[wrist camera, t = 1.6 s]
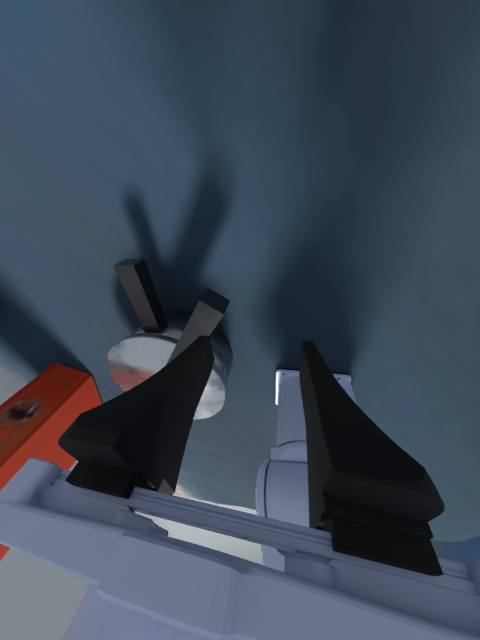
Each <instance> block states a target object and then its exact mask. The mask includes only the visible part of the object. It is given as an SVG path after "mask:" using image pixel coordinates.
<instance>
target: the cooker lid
mask: <svg viewBox="0 0 480 640" xmlns="http://www.w3.org/2000/svg"><path fill="white" fill-rule="evenodd" d="M229 302H230V300H228V299H226V298H224V297H223V296H221V295H219V294H218V293H216V292H214V291H213V290H211V289H209V288H208V289H207V290H206V292H205V293H204V295H203V296H202V297H201V299H200V300H199V302H198V304H197V306H196V308H195V310H194V312H193V314H192V316H191V317H190V319H189V321H188V323H187V325H186V327H185V329H184V331H183V333H182V335H181V337H180V339H179V340H177V339H174V338H171V337H168V336H164V335H159V334H152V333H138V334H133V335H130V336H127V337H125V338H123V339H121V340H120V341H119V342H118V343H117V344H116V345H115V346H114V347H113V348H112V349H111V350H110V352H109V354H108V357H107V365H108V369H109V372H110V374H111V376H112V378H113V379H114V381H115V382H116V383H117V385H118V386H119V387H120V388H121V389H122V390H123V391H124V392H126V391H128V390H130V389H132V388H133V387H135V386H137V385H138V384H140V383H142V382H143V381H145V380H146V379H148V378H149V377H151V376H152V375H154V374H155V373H157V372H158V371H159V370H161V369H162V368H163V367H164V366H166V365H167V364H168V363H169V362H171V361H172V360H173V359H174V358H176V357H177V356H178V355H179V354H180V353H181V352H182V351H184V350H185V349H186V348H187V347H188V346H189V345H190V344H191V343H192V342H193V341H195V340H196V339H197V338H198V337H199V336H200V335H201V336H210V335H211V333H212V331H213V330H214V328H215V327H216V325H217V324H218V322H219V321H220V319H221V318H222V316H223V315H224V313H225V310H226V308H227V306H228V304H229ZM226 394H227V387H226V382H225V380H224V377H223V375H222V374H221V372H220V371H219V369H218V368H217V366H216V365H215V364H213V368H212V371H211V375H210V377H209V380H208V382H207V385H206V387H205V389H204V392H203V394H202V397H201V399H200V402H199V404H198V406H197V409H196V412H195V415H194V418H193V419H204V418H208V417H211V416H213V415H215V414H216V413H218V412H219V411H220V410H221V408H222V407H223V405H224V401H225V397H226Z"/></svg>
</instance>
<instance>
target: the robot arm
mask: <svg viewBox="0 0 480 640" xmlns="http://www.w3.org/2000/svg"><path fill="white" fill-rule="evenodd" d="M214 360H215V358H214V354H213V350H212V345H211V341H210V337H209V336H201V335H200V336H199V337H198V338H197V339H196V340H195V341H193V342H192V343H191V344H190V345H189V346H188V347H187V348H186V349H185V350H184V351H182V352H181V353H180V354H179V355H178V356H177V357H176V358H174V359H173V360H172V361H171V362H169V363H168V364H167V365H166V366H164V367H163V368H162V369H161V370H159V371H158V372H157V373H155V374H154V375H152V376H151V377H149V378H148V379H146V380H145V381H143V382H142V383H140V384H138V385H137V386H135V387H133V388H132V389H130V390H128V391H126V392H125V393H123V394H121V395H119V396H117V397H115V398H113V399H111V400H109V401H107V402H105V403H103V404H101V405H99V406H97V407H94V408H92V409H90V410H88V411H85V412H83V413H81V414H80V415H79V416H78V417H77V418H76V419H75V421H74V422H73V423H72V424H71V425H70V426H69V427H68V429H67V430H66V431H65V432H64V433H63V434H62V436H61V437H60V438H59V439H58V444H59V446H60V447H61V448H62V449H63V450H64V451H66V452H67V453H68V454H70V455H71V456H72V457H74V458H75V459H76V460H78V461H79V462H78V463H77V465H76V466H75V467H74V469H73V470H72V471H66V470H62V468H61V467H60V466H58V465H57V464H55V463H53V462H50V461H46V460H41V459H37V458H30V459H29V460H28V461H27V462H26V463H25V464H24V466H23V467H22V468H21V469H20V470H19V471H18V472H17V473H16V474H15V475H14V477H13V478H12V479H11V480H10V481H9V482H8V483H7V484H6V485H5V486H4V487H3V489H2V490H1V491H0V544H2V545H5V546H7V547H9V548H12V549H14V550H16V551H19V552H21V553H23V554H26V555H28V556H30V557H32V558H35V559H37V560H39V561H42V562H44V563H46V564H49V565H51V566H53V567H55V568H58V569H60V570H62V571H65V572H67V573H69V574H71V575H74V576H76V577H78V578H81V579H83V580H85V581H88V582H89V585H88V587H87V589H86V591H85V593H84V595H83V597H82V599H81V601H80V603H79V605H78V607H77V609H76V612H75V613H74V615H73V618H72V620H71V622H70V624H69V626H68V628H67V630H66V632H65V634H64V636H63V638H62V640H480V561H471V562H469V563H468V564H467V565H466V564H462V563H458V562H454V561H449V560H445V559H441V558H437V556H436V553H435V551H434V549H433V546H432V543H431V541H430V539H432V538H433V534H432V532H431V529H430V527H429V524H428V521H430V520H432V519H433V518H435V517H437V516H439V515H440V514H441V513H442V512H443V511H444V509H445V508H444V503H443V501H442V499H441V497H440V495H439V493H438V490H437V489H436V487H435V485H434V483H433V481H432V480H431V478H430V476H429V475H428V473H427V472H426V470H425V468H424V467H423V466H422V465H420V464H419V463H418V462H417V461H416V460H414V459H413V458H412V457H411V456H410V455H408V454H407V453H406V452H405V451H404V450H402V449H401V448H400V447H399V446H398V445H397V444H396V443H395V442H393V441H392V440H391V439H390V438H389V437H388V436H387V435H386V434H385V433H384V432H383V431H382V430H381V429H380V428H379V427H378V426H377V425H376V424H375V423H374V422H373V421H372V420H371V419H370V418H369V417H368V416H367V415H366V414H365V413H364V412H363V411H362V410H361V409H360V408H359V407H358V406H357V403H356V400H355V396H354V393H353V390H352V387H351V383H350V382H351V376H350V375H343V374H332V372H331V371H330V369H329V368H328V366H327V364H326V363H325V361H324V360H323V358H322V356H321V354H320V352H319V351H318V349H317V347H316V344H315V343H314V342H313V341H302V344H301V353H300V362H299V371H295V370H282V369H278V370H276V400H275V403H276V404H277V405H278V412H277V437H276V448H271V458H269V457H268V458H266V459H265V460H264V461H263V463H262V465H261V466H260V468H259V471H258V475H257V481H256V512H257V515H254V514H249V513H245V512H241V511H237V510H232V509H228V508H224V507H219V506H215V505H211V504H207V503H202V502H198V501H194V500H190V499H186V498H181V497H177V496H172V495H173V493H174V492H175V489H176V484H177V480H178V475H179V471H180V467H181V462H182V458H183V454H184V450H185V446H186V443H187V439H188V435H189V432H190V428H191V425H192V422H193V418H194V415H195V412H196V409H197V406H198V404H199V402H200V399H201V397H202V394H203V392H204V389H205V387H206V385H207V382H208V380H209V377H210V375H211V371H212V368H213V364H214ZM134 511H137V512H141V513H144V514H148V515H152V516H156V517H160V518H163V519H167V520H171V521H175V522H179V523H182V524H186V525H190V526H194V527H197V528H201V529H205V530H209V531H213V532H216V533H220V534H224V535H228V536H232V537H236V538H239V539H243V540H247V541H251V542H255V543H258V544H261V551H262V553H263V563H264V565H265V566H263V565H260V564H257V563H254V562H251V561H248V560H245V559H242V558H239V557H236V556H233V555H229V554H226V553H223V552H220V551H217V550H213V549H210V548H207V547H203V546H200V545H197V544H193V543H190V542H186V541H182V540H179V539H175V538H171V537H167V536H168V531H167V530H165V529H163V528H161V527H159V526H158V525H156V524H155V523H154V522H153V521H152V520H151V519H149V518H146V517H144V516H141V515H138V514H135V512H134Z"/></svg>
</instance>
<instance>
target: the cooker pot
mask: <svg viewBox="0 0 480 640" xmlns="http://www.w3.org/2000/svg"><path fill="white" fill-rule="evenodd" d="M114 268H115V270H116V272H117V274H118V276H119V278H120V281H121V283H122V285H123V287H124V289H125V291H126V294H127V296H128V298H129V300H130V302H131V304H132V307H133V309H134V311H135V313H136V315H137V317H138V320H139V322H140V324H141V325H140V326H139V327H138V328H137V329H136V330H135V331H134V332H133V333H132V334H131V335H133V334H138V333H152V334H159V335H164V336H168V337H171V338H174V339H177V340H179V339H180V337H181V335H182V333H183V331H184V329H185V327H186V325H187V323H188V321H189V319H190V317H191V316H192V314H190V313H187V312H182V311H174V310H169V311H163V309H162V307H161V304H160V301H159V298H158V296H157V293H156V290H155V287H154V285H153V282H152V279H151V277H150V274H149V271H148V268H147V266H146V263H145V260H144V259H131V260H124V261H122V262H120V263H118V264H116V265H114ZM209 337H210V341H211V345H212V350H213V354H214V358H215V360H214V364H215V365H216V366H217V368H218V369H219V371H220V372H221V374H222V375H223V377H224V380H225V382H226V383H227V379H228V376H229V372H230V369H231V366H232V361H233V356H232V351H231V348H230V345H229V343H228V342H227V340H226V338H225V337H224V336H223V335H222V333H221V332H220V331H219V330H218V329H217V328H214V330H213V331H212V333H211V335H210V336H209Z"/></svg>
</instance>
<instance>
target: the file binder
mask: <svg viewBox="0 0 480 640" xmlns="http://www.w3.org/2000/svg"><path fill="white" fill-rule="evenodd" d="M101 404H102V402H101V399H100V397H99V394H98V391H97V389H96V386H95V383H94V380H93V378H92V376H91V375H90V374H88V373H85V372H82V371H79V370H76V369H73V368H70V367H67V366H64V365H61V364H58V363H55V364H52V365H51V366H50V367H48V368H47V369H46V370H45V371H43V372H42V373H41V374H40V375H38V376H37V377H36V378H35V379H33V380H32V381H31V382H29V383H28V384H27V385H26V386H24V387H23V388H22V389H21V390H19V391H18V392H17V393H16V394H14V395H13V396H12V397H11V398H9V399H8V400H7V401H5V402H4V403H3V404H2V405H0V491H1V490H2V489H3V487H4V486H5V485H6V484H7V483H8V482H9V481H10V480H11V479H12V478H13V477H14V475H15V474H16V473H17V472H18V471H19V470H20V469H21V468H22V467H23V466H24V464H25V463H26V462H27V461H28V460H29V459H30V458H37V459H41V460H46V461H50V462H53V463H55V464H57V465H58V466H60V467H61V468H62V470H66V471H68V470H69V469H70V467H71V466H72V465H73V464H74V462H75V461H76V459H75V458H74V457H72V456H71V455H70V454H68V453H67V452H66V451H64V450H63V449H62V448H61V447H60V446H59V444H58V439H59V438H60V437H61V436H62V434H63V433H64V432H65V431H66V430H67V429H68V427H69V426H70V425H71V424H72V423H73V422H74V421H75V419H76V418H77V417H78V416H79V415H80V414H81V413H83V412H85V411H88V410H90V409H92V408H94V407H97V406H99V405H101ZM9 549H10V548H9V547H7V546H5V545H2V544H0V561H1V559H2V558H3V557H4V555H5V554H6V553H7V551H8V550H9Z"/></svg>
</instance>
